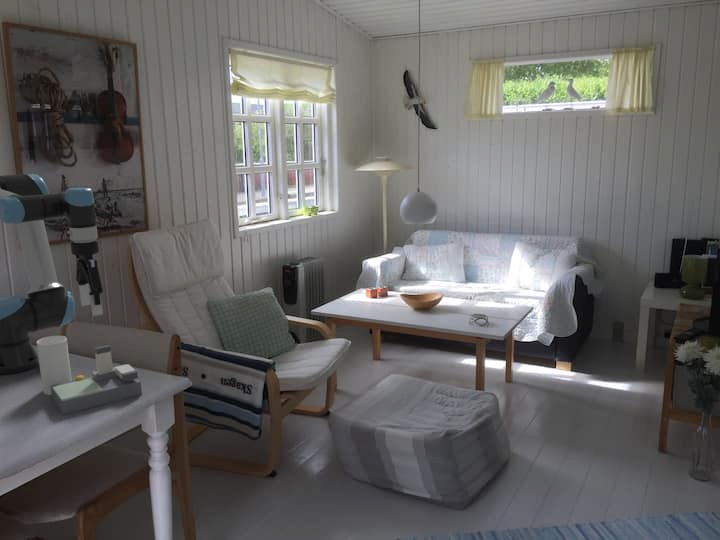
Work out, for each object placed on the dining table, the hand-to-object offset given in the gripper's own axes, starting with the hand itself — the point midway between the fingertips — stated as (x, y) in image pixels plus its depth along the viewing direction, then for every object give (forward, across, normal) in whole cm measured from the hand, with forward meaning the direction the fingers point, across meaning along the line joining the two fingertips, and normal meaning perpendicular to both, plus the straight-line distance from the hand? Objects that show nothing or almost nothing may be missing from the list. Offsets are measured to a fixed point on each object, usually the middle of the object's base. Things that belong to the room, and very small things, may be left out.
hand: (91, 310), depth 192 cm
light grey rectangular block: (+18, +7, 0) cm, 19 cm away
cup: (+24, -4, -11) cm, 27 cm away
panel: (+24, +9, -3) cm, 26 cm away
